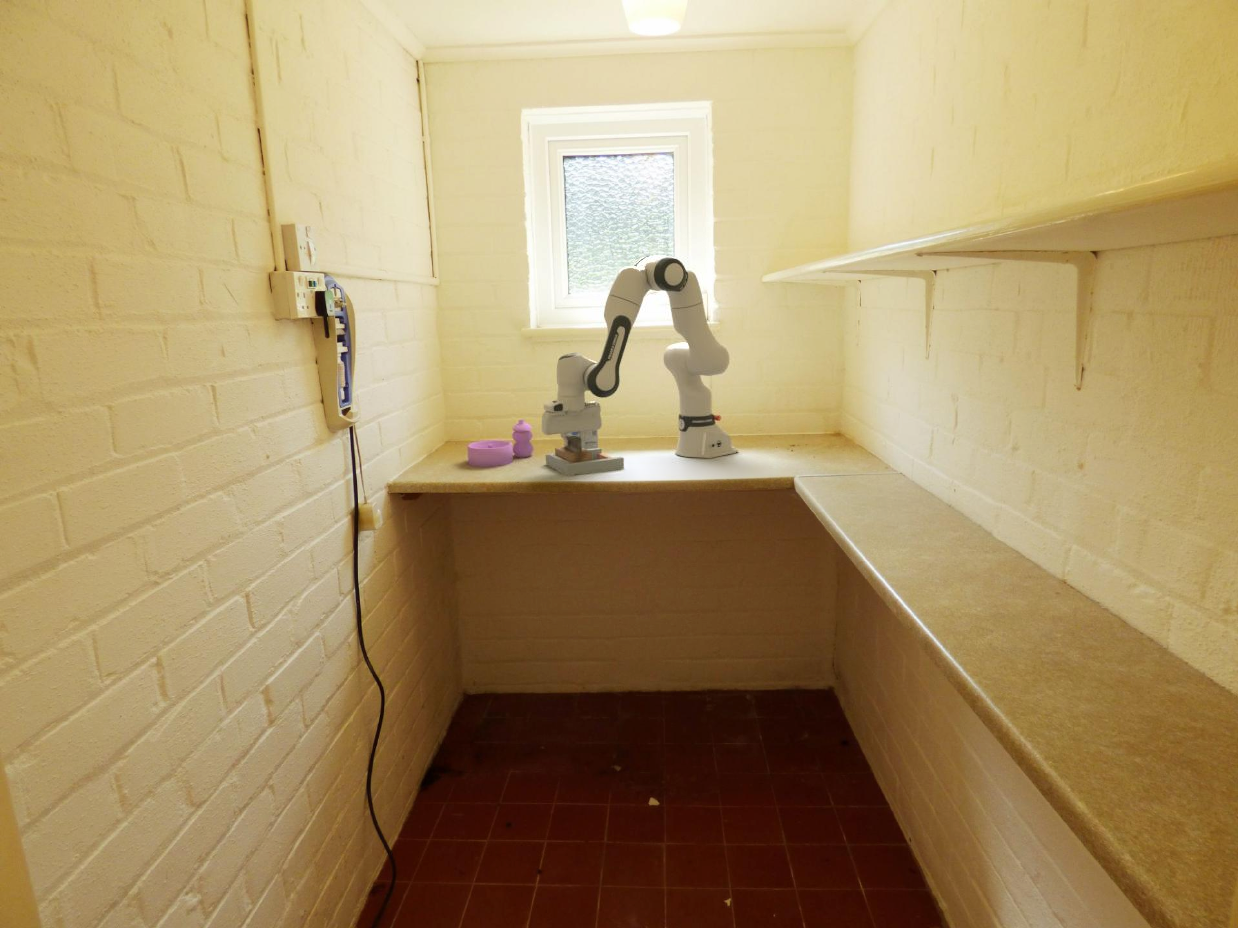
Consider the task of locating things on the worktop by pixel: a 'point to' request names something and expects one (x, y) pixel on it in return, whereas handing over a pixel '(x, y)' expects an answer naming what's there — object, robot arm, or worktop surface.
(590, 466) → the bay
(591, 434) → the light bulb box
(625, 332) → the robot arm
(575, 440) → the brown and grey block
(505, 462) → the container set
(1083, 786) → the worktop surface
